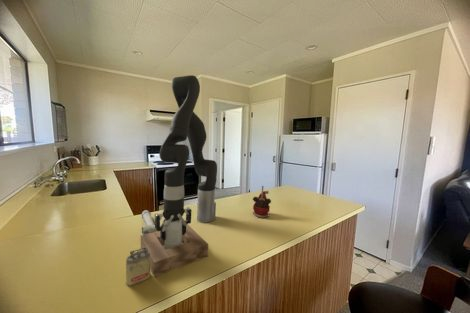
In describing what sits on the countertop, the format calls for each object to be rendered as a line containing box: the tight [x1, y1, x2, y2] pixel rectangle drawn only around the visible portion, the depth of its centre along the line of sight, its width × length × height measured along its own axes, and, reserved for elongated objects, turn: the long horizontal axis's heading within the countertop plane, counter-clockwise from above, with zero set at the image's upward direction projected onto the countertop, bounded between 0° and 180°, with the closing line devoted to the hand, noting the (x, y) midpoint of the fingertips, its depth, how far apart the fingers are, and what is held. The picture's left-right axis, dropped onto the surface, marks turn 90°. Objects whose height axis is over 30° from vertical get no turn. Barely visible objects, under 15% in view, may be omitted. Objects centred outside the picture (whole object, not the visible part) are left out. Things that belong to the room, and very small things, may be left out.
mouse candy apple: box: [252, 185, 272, 218], centre depth 117 cm, size 11×9×18 cm
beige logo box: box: [125, 246, 152, 286], centre depth 62 cm, size 7×4×10 cm, turn 130°
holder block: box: [140, 223, 209, 278], centre depth 77 cm, size 20×20×5 cm
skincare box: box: [165, 220, 182, 250], centre depth 77 cm, size 6×4×12 cm
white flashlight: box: [141, 209, 157, 235], centre depth 96 cm, size 5×7×25 cm
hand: (173, 236), depth 77 cm, fingers closed on skincare box, 7 cm apart
